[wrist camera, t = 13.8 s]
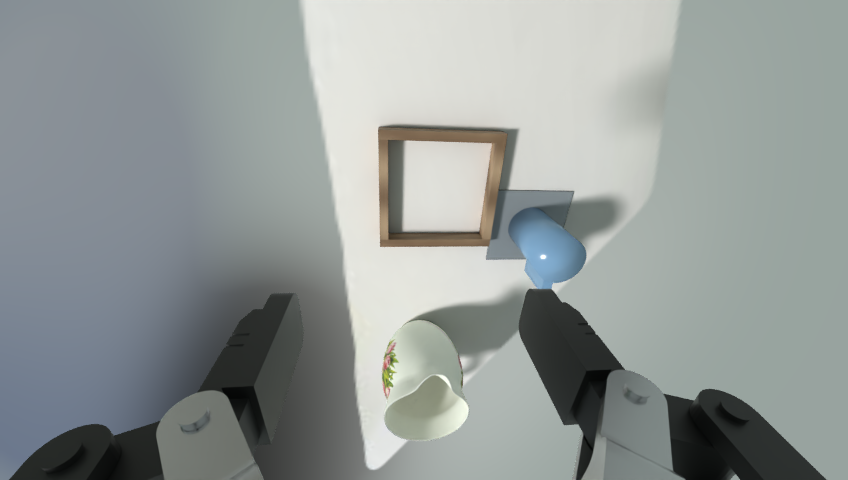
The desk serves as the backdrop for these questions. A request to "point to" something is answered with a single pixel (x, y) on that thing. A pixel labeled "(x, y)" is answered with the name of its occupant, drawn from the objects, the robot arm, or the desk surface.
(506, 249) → the mat
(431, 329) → the pitcher
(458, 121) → the desk surface
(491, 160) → the holder
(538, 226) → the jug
